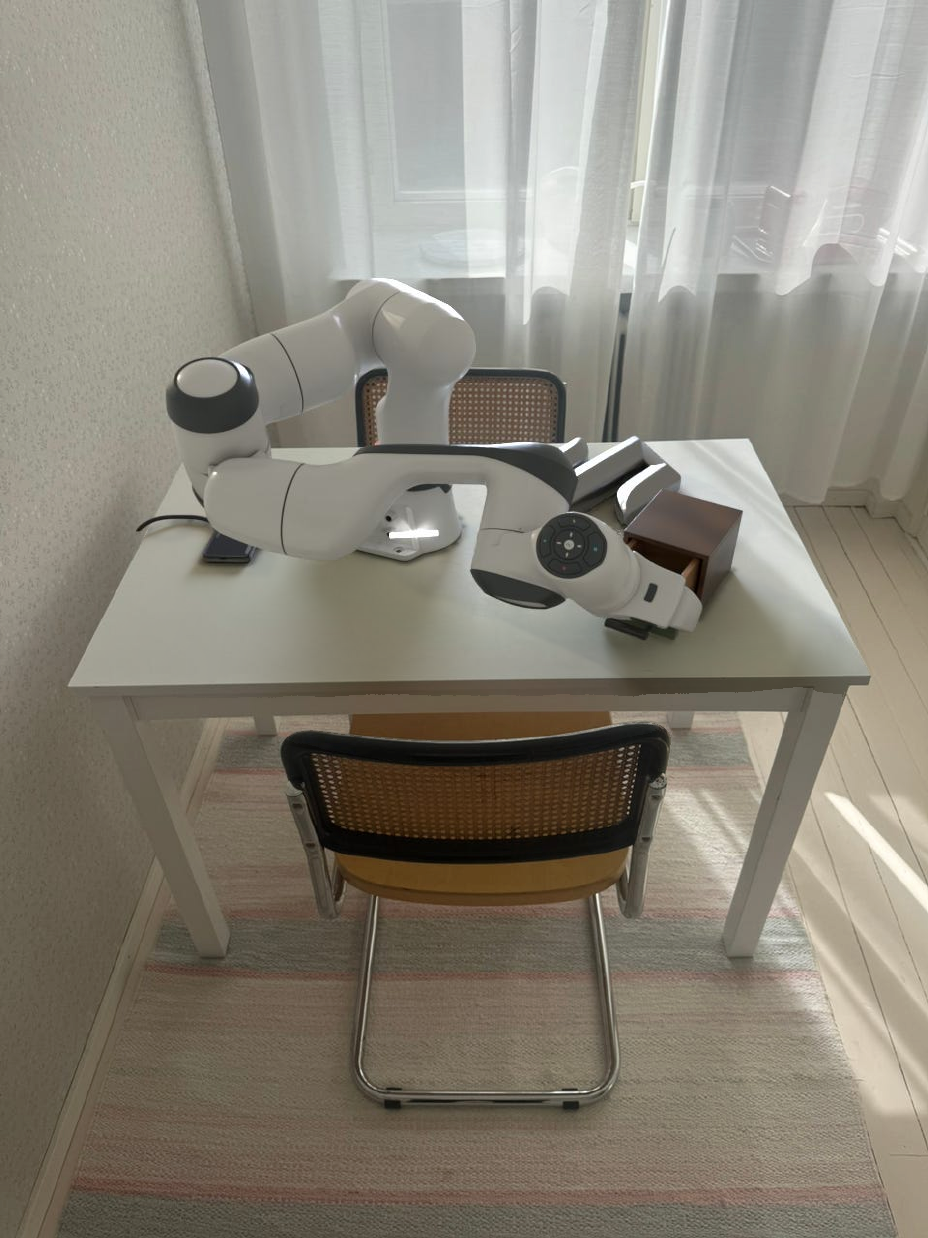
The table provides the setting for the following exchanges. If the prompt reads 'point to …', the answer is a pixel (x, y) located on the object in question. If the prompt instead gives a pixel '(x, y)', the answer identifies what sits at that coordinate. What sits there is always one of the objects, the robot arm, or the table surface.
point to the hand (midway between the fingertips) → (632, 602)
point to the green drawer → (671, 561)
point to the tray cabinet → (691, 534)
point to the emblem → (619, 477)
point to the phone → (227, 549)
